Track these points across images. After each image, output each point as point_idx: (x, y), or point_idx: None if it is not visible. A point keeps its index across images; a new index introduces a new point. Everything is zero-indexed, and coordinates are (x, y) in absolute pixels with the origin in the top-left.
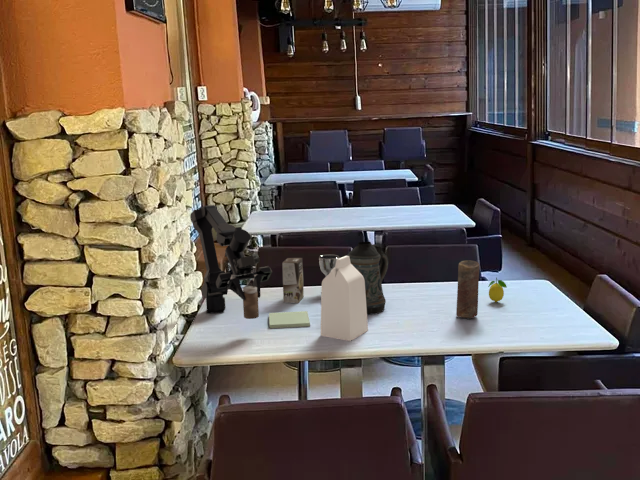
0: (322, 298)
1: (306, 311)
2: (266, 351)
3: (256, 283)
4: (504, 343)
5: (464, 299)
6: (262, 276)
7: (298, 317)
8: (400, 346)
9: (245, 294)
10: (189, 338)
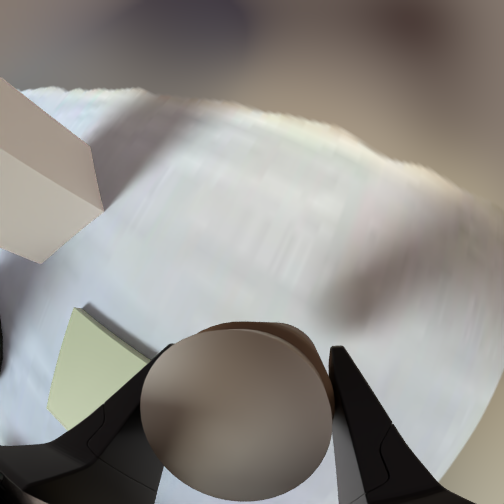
0: (16, 154)
1: (48, 408)
2: (309, 156)
3: (109, 452)
4: None
5: None
6: (4, 450)
7: (76, 381)
8: (70, 101)
9: (324, 370)
10: (479, 417)
